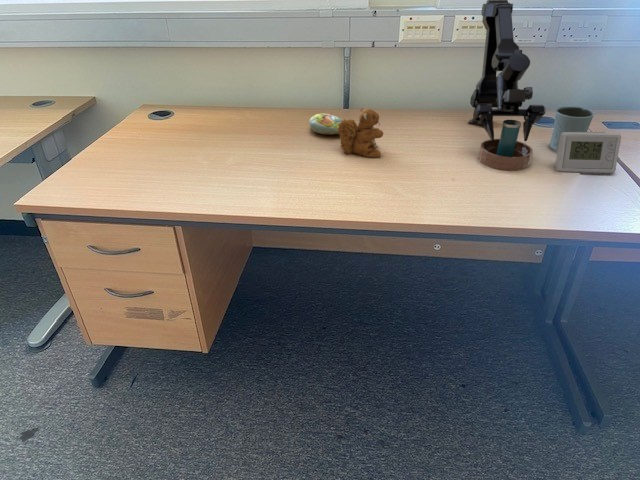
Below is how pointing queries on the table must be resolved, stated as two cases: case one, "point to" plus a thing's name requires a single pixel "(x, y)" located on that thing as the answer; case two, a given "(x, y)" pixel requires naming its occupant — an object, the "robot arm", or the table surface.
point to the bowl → (501, 162)
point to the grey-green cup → (570, 122)
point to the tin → (508, 138)
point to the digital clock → (587, 152)
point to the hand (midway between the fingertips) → (509, 140)
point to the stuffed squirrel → (361, 134)
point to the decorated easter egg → (325, 124)
